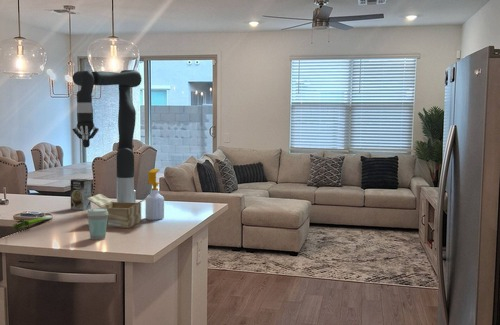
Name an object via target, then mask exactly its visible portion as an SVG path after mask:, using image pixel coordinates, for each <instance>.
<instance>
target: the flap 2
mask: <svg viewBox="0 0 500 325" xmlns="http://www.w3.org/2000/svg"><path fill="white" fill-rule="evenodd" d="M152 196H153V195H152ZM152 196H150V197H152ZM150 197H148V198H150ZM148 198H146V197H145V198H144V199H142V200H139V202H136V204H134V205H133V206H135V205H137V204H138V203H142V202H145V200H146V199H148ZM133 206H131V207H133ZM131 207H129V208H131Z"/></svg>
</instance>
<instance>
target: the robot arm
mask: <svg viewBox="0 0 500 325" xmlns="http://www.w3.org/2000/svg"><path fill="white" fill-rule="evenodd" d="M72 82H73V83H74V84H75V85H76V86H78V87H80V86H81V89H80V90H78V91H77V92H76V121H77V124H76V126H75V127H74V128H72V131H73V132H74V134H75V135H76V137H77V138H78V139H80V140H82V146H83V148H89V147H90V143H91V142H90V140H91V139H94V137H95V136H96V134H97V133H98V132H99V130H100V129H99V128H98V127H96V126H95V124H94V109H93V108H94V107H93V106H94V105H93V97H92V96H93V95H92V94H93V91H94V87H95V86H113V85H114V86H116V85H118V113H117V114H118V115H117V128H118V144H117V151H116V202H131V203H137V202H136V201H137V200H136V197H137V196H136V194H137V193H136V190H135V155H134V147H133V141H134V140H133V139H134V133H135V127H136V119H137V118H136V116H137V112H136V108H135V106H134V103H133V101H132V99H131V88H137V87H140V85H141V84H142V75H141V73H140V72H139V71H137V70H134V69H123V70H121V71H119V72H117V71H115V72H114V71H90V70H79V71H76V72H74V73H73V75H72Z"/></svg>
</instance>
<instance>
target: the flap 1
mask: <svg viewBox="0 0 500 325" xmlns="http://www.w3.org/2000/svg"><path fill="white" fill-rule="evenodd" d="M87 200H89V201H91V204H92V203H93V204H94V205H95V206H97V207H98V208H100V207H102V206H104V205H107V204H109V203H111V202H113V200H112V199H110V198H109V197H107V196H105V195H104V194H102V193H99V194H95V195H93V196H92V195H91V197H89V198H87Z"/></svg>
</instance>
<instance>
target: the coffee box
mask: <svg viewBox="0 0 500 325" xmlns="http://www.w3.org/2000/svg"><path fill="white" fill-rule="evenodd" d="M89 197H92V179H87V178H72V179H70V210H79V211H88V210H89V209H92V202H91V201H89V200H87V198H89Z"/></svg>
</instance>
